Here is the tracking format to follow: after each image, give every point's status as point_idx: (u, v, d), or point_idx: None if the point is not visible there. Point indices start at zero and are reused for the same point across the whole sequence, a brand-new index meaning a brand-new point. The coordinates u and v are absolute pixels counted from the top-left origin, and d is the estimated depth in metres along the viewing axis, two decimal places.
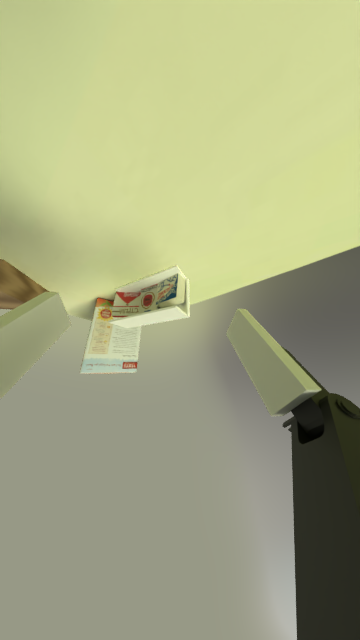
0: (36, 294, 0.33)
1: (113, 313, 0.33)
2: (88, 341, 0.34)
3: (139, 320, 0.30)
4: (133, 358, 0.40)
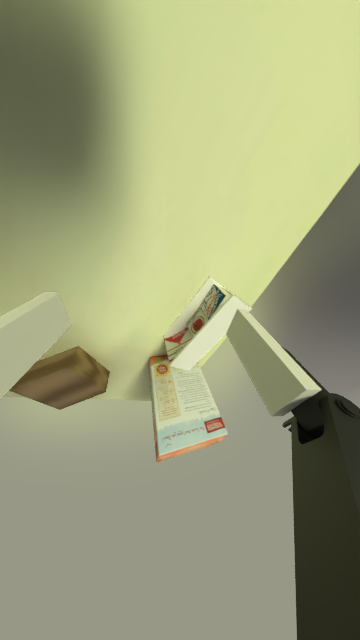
0: (100, 374, 0.34)
1: (170, 357, 0.30)
2: (155, 405, 0.28)
3: (200, 343, 0.26)
4: (213, 412, 0.29)
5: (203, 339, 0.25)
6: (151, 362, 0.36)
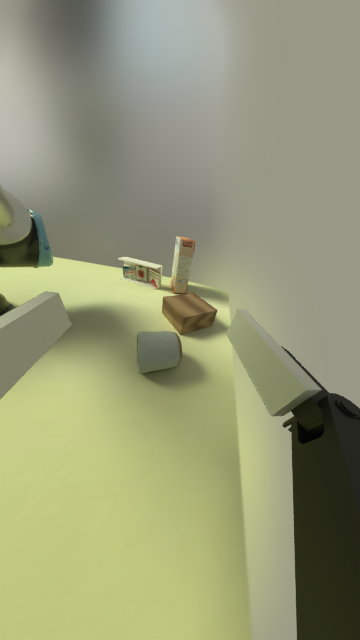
0: None
1: (158, 274, 0.56)
2: (177, 261, 0.51)
3: (142, 262, 0.57)
4: (175, 246, 0.59)
5: (139, 262, 0.57)
6: (174, 288, 0.57)
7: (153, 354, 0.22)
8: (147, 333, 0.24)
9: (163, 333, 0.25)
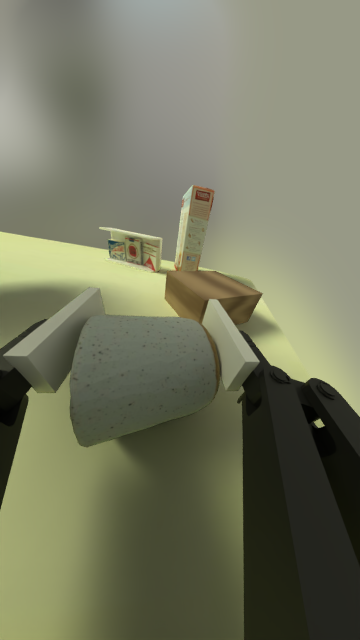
0: None
1: (155, 249, 0.38)
2: (186, 226, 0.34)
3: (133, 233, 0.39)
4: (181, 212, 0.42)
5: (129, 232, 0.39)
6: (179, 270, 0.40)
7: (132, 389, 0.06)
8: (120, 318, 0.08)
9: (167, 319, 0.09)
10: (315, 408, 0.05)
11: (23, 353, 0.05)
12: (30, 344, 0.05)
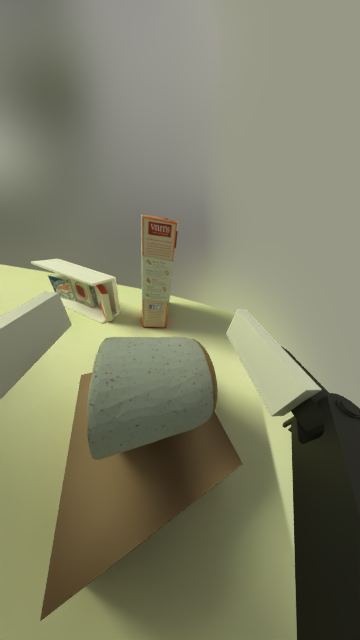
0: None
1: (101, 296, 0.27)
2: None
3: (74, 271, 0.28)
4: None
5: (69, 270, 0.28)
6: (142, 319, 0.30)
7: (139, 412, 0.07)
8: (128, 342, 0.09)
9: (169, 342, 0.10)
10: None
11: None
12: None
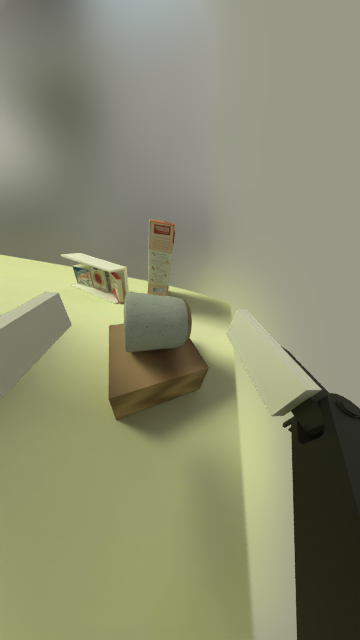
0: None
1: (116, 281, 0.35)
2: (148, 259, 0.31)
3: (94, 262, 0.36)
4: None
5: (91, 261, 0.36)
6: None
7: (147, 320, 0.14)
8: (141, 293, 0.16)
9: (164, 296, 0.17)
10: None
11: None
12: None
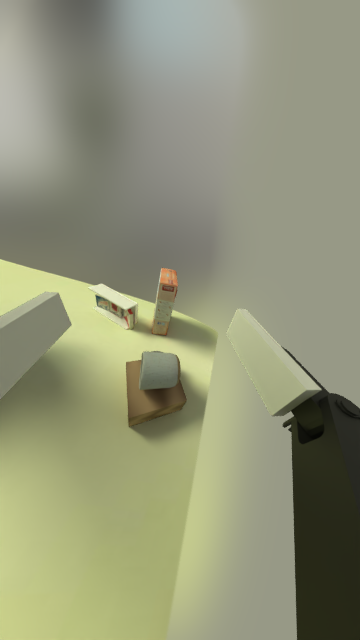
0: None
1: (129, 315, 0.45)
2: (156, 304, 0.42)
3: (114, 297, 0.47)
4: None
5: (111, 296, 0.47)
6: (152, 329, 0.49)
7: (154, 377, 0.25)
8: (151, 355, 0.27)
9: (165, 356, 0.28)
10: None
11: None
12: None
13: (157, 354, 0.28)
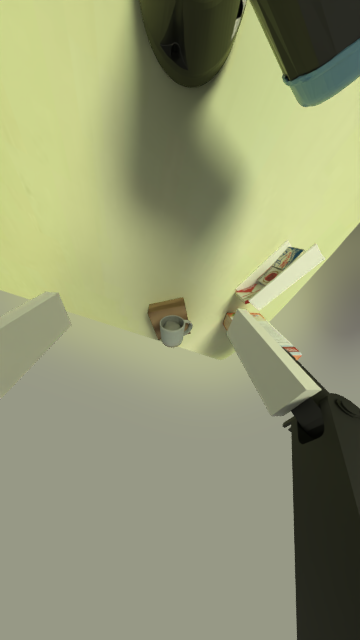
0: None
1: (245, 299, 0.41)
2: None
3: (278, 284, 0.36)
4: (288, 344, 0.39)
5: (281, 280, 0.35)
6: (229, 315, 0.49)
7: (162, 333, 0.39)
8: (176, 334, 0.38)
9: (175, 341, 0.40)
10: None
11: None
12: None
13: (177, 337, 0.39)
